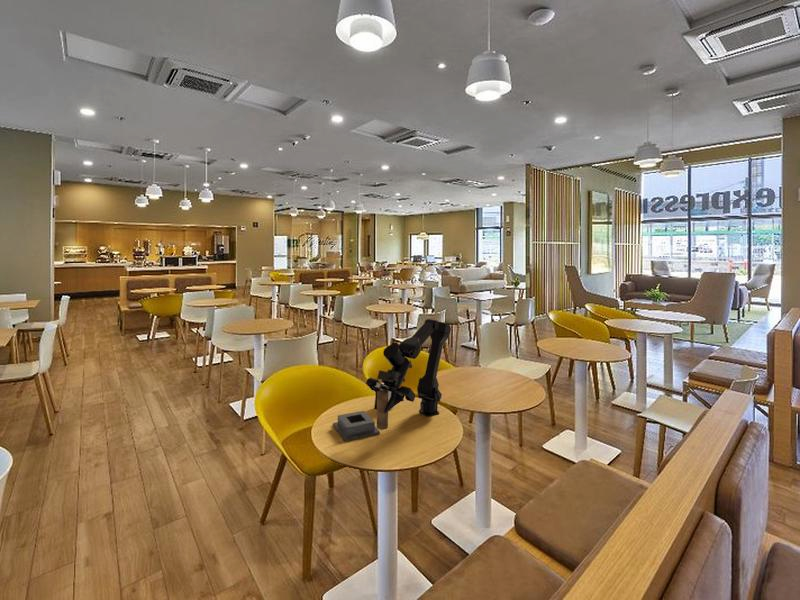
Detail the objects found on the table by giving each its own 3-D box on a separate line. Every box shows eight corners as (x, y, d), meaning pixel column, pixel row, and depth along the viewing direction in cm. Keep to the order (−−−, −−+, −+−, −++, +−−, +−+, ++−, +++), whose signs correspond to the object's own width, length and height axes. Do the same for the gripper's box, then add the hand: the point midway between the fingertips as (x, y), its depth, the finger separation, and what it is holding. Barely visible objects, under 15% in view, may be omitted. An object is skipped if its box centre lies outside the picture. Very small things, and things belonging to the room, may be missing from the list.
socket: (365, 419, 168) (366, 408, 167) (379, 434, 155) (380, 422, 155) (332, 425, 162) (332, 414, 161) (344, 441, 149) (344, 430, 148)
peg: (385, 423, 149) (385, 389, 147) (389, 428, 145) (390, 393, 143) (374, 425, 147) (375, 391, 145) (379, 430, 144) (379, 395, 142)
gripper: (368, 356, 151) (349, 394, 144) (411, 366, 141) (393, 407, 133) (381, 371, 159) (363, 408, 151) (422, 381, 149) (405, 421, 141)
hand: (380, 410), depth 144 cm, fingers closed on peg, 4 cm apart
